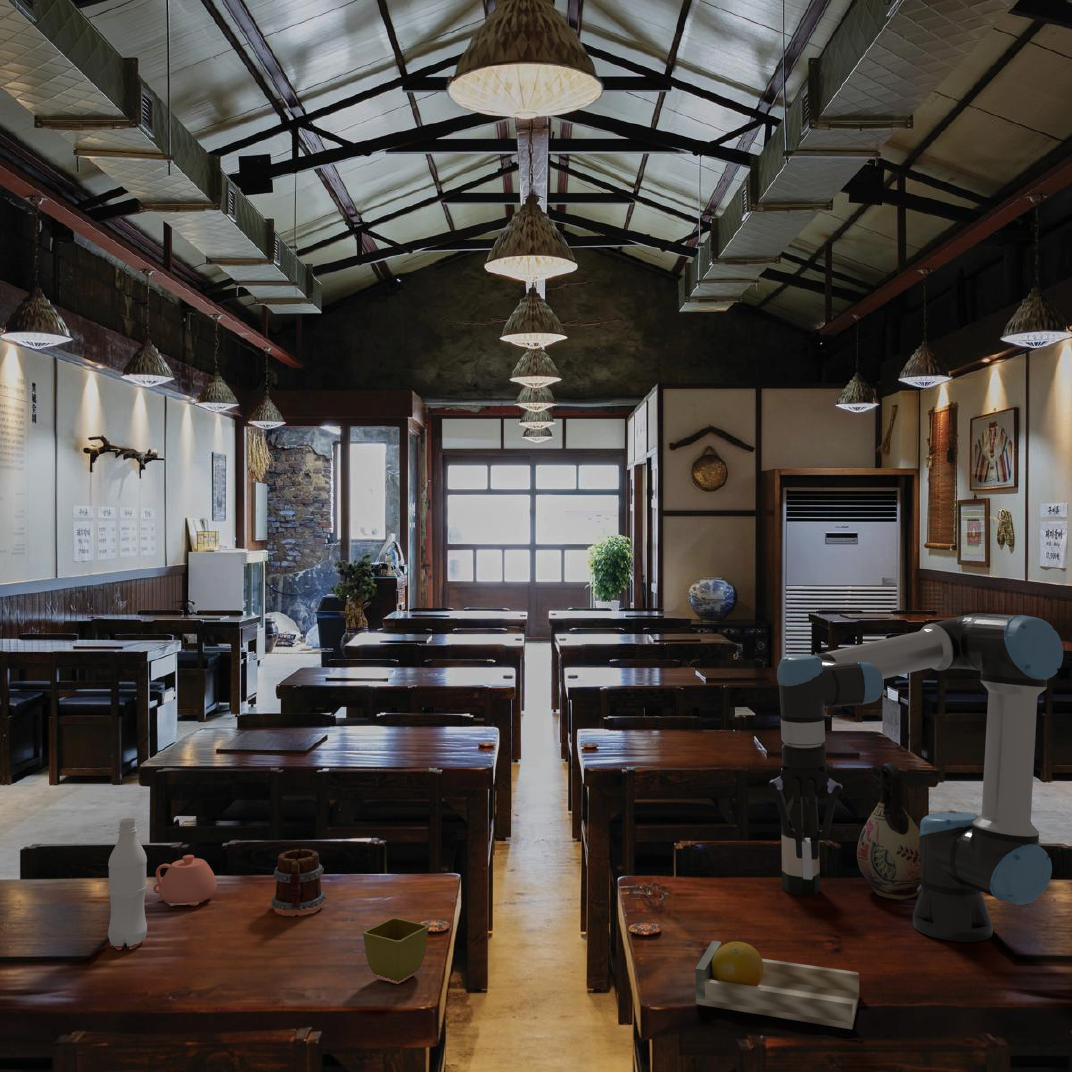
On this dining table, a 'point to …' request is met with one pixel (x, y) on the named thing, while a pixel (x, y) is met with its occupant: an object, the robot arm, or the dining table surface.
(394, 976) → the flower pot
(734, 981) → the fruit
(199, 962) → the dining table surface
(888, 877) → the ceramic jug
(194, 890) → the sugar bowl
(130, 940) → the water bottle
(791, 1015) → the channel
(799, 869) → the wine bottle
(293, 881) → the mug
